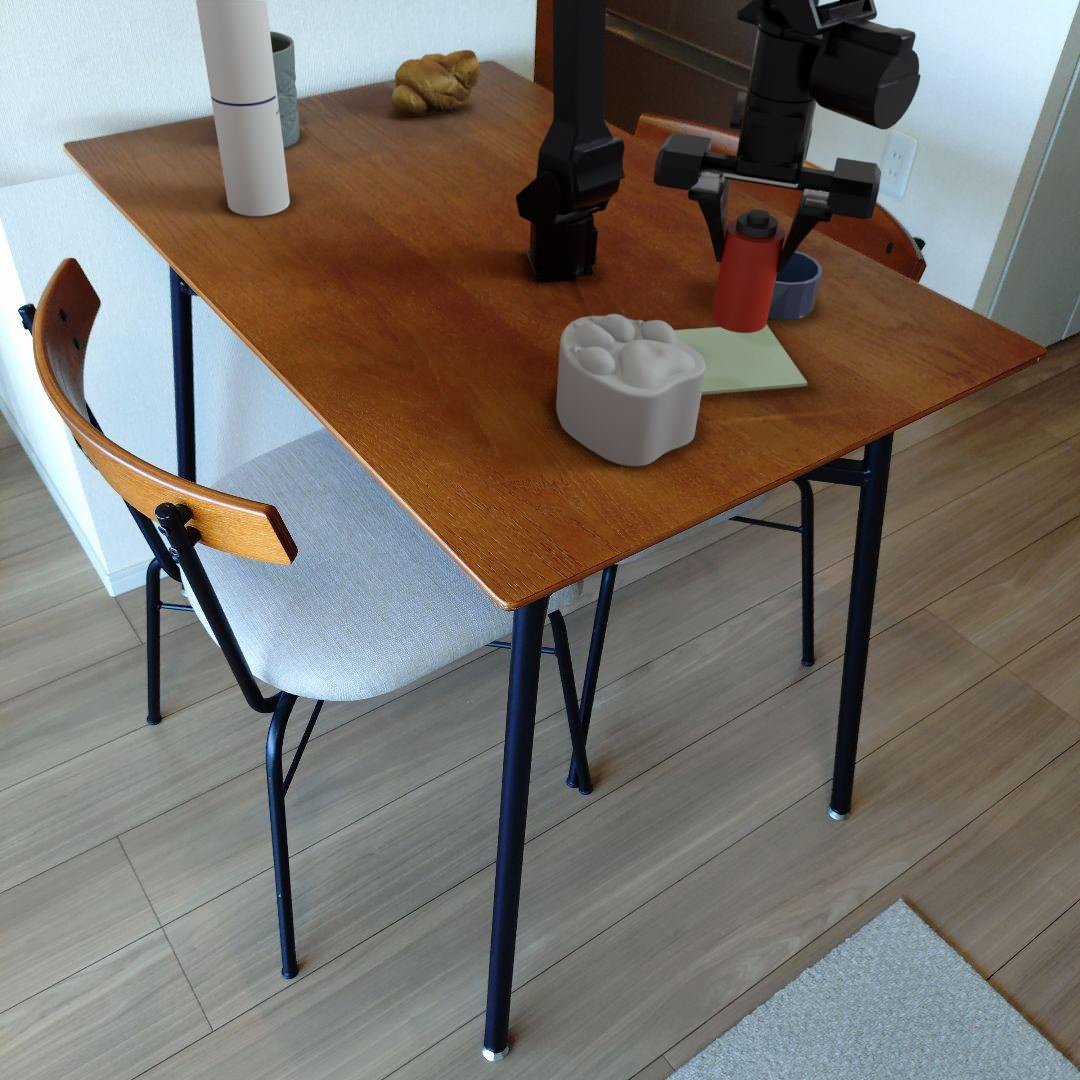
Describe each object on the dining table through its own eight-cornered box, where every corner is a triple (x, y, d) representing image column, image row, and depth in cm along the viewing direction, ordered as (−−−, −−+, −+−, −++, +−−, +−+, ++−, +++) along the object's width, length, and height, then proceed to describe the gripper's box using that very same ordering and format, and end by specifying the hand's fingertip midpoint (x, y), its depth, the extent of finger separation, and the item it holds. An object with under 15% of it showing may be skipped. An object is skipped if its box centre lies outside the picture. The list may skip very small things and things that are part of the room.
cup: (752, 326, 110) (760, 286, 107) (726, 288, 116) (733, 249, 113) (824, 320, 112) (834, 281, 109) (795, 283, 117) (804, 245, 115)
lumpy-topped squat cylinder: (625, 475, 91) (636, 389, 85) (527, 405, 98) (531, 321, 92) (710, 432, 96) (725, 348, 90) (611, 368, 103) (619, 286, 97)
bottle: (721, 335, 99) (741, 228, 92) (704, 307, 103) (721, 202, 96) (774, 331, 100) (797, 225, 93) (755, 303, 104) (776, 199, 97)
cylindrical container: (215, 208, 125) (176, -27, 109) (250, 185, 130) (218, -43, 114) (268, 220, 123) (236, -17, 107) (301, 197, 128) (276, -33, 112)
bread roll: (407, 127, 146) (405, 66, 141) (373, 104, 152) (369, 45, 147) (486, 110, 152) (487, 51, 147) (450, 89, 158) (449, 31, 153)
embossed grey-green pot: (296, 154, 138) (285, 57, 130) (217, 150, 138) (201, 52, 130) (309, 125, 145) (300, 31, 138) (235, 121, 145) (221, 27, 137)
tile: (695, 399, 100) (696, 392, 99) (661, 337, 108) (662, 330, 107) (806, 389, 102) (807, 382, 101) (764, 330, 110) (766, 323, 109)
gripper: (903, 75, 92) (858, 245, 102) (688, 45, 95) (666, 212, 105) (898, 120, 84) (850, 299, 94) (663, 86, 87) (642, 263, 97)
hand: (749, 265), depth 98 cm, fingers closed on bottle, 5 cm apart
